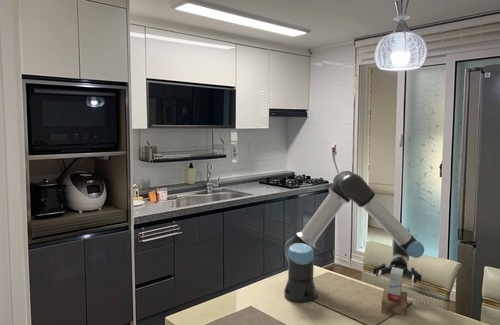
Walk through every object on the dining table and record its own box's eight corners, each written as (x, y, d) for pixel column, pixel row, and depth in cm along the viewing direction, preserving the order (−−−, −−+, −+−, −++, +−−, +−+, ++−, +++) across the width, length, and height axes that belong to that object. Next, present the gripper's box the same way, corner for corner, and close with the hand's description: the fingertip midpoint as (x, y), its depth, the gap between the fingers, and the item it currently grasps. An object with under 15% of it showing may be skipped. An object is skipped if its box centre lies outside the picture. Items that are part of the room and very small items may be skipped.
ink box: (399, 302, 164) (402, 275, 162) (387, 298, 166) (390, 273, 164) (400, 294, 172) (404, 268, 170) (389, 291, 174) (392, 266, 172)
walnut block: (381, 312, 165) (381, 301, 164) (383, 299, 178) (383, 288, 177) (406, 317, 161) (407, 305, 160) (406, 303, 174) (407, 292, 173)
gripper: (427, 276, 179) (426, 294, 160) (371, 268, 190) (365, 284, 171) (428, 261, 179) (427, 277, 159) (372, 253, 189) (365, 267, 170)
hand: (395, 280), depth 165 cm, fingers open, 13 cm apart
